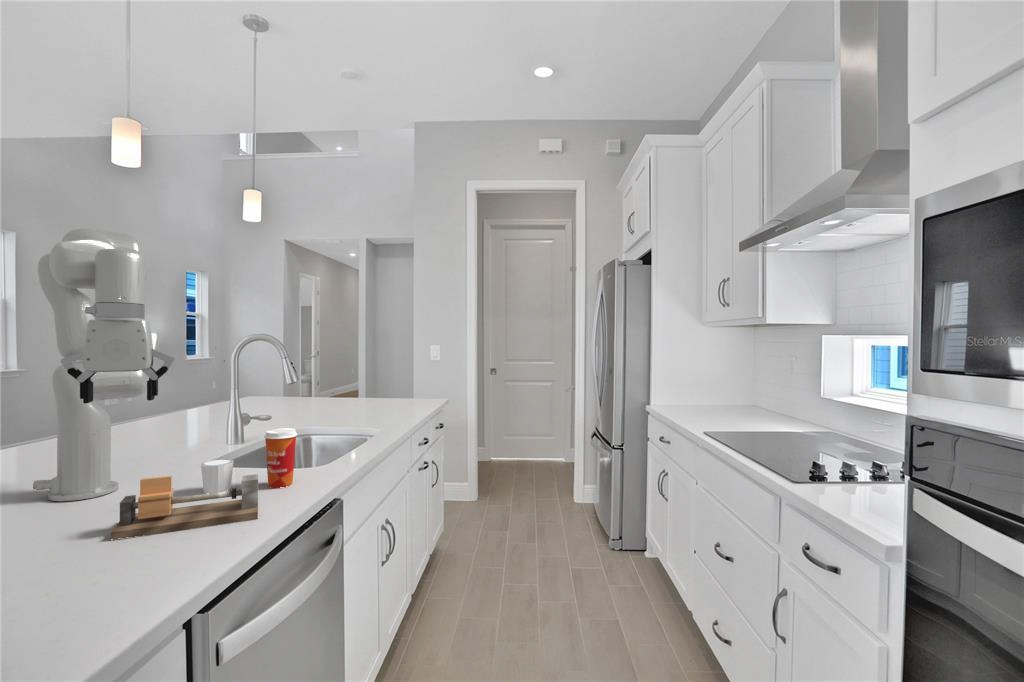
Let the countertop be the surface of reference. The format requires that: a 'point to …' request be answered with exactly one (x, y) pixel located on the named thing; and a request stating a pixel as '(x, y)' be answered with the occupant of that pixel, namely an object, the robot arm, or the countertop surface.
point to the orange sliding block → (155, 497)
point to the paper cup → (280, 456)
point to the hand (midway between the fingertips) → (120, 401)
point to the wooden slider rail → (191, 512)
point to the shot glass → (217, 475)
